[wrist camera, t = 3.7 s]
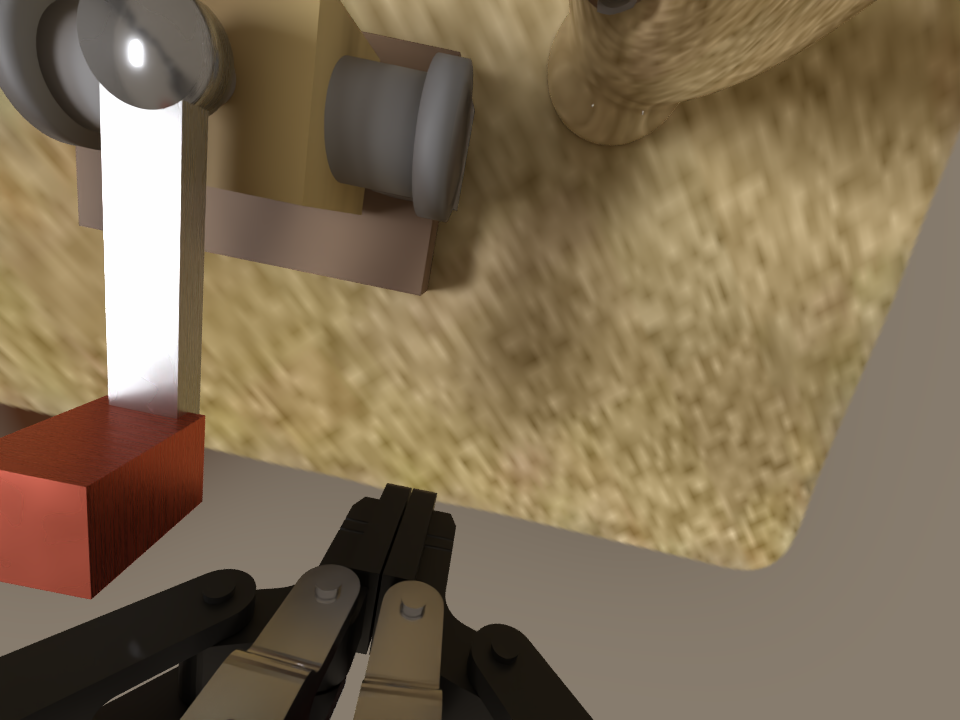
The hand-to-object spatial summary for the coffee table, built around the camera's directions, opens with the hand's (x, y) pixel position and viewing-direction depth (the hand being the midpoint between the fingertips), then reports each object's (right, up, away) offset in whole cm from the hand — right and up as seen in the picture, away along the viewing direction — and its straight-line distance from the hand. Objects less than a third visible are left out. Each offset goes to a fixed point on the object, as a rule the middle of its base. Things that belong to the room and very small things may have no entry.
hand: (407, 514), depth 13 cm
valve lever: (-7, +7, 0) cm, 10 cm away
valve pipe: (-7, +14, +8) cm, 18 cm away
